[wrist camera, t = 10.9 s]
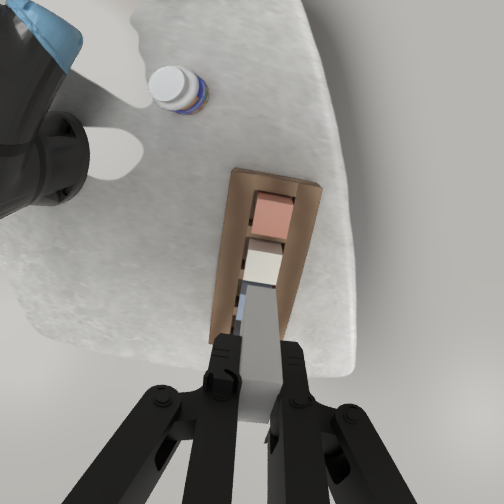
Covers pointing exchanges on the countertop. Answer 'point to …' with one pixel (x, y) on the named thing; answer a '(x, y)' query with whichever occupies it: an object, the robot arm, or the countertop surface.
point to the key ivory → (263, 261)
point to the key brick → (272, 214)
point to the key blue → (243, 295)
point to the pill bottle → (178, 89)
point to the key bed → (239, 234)
